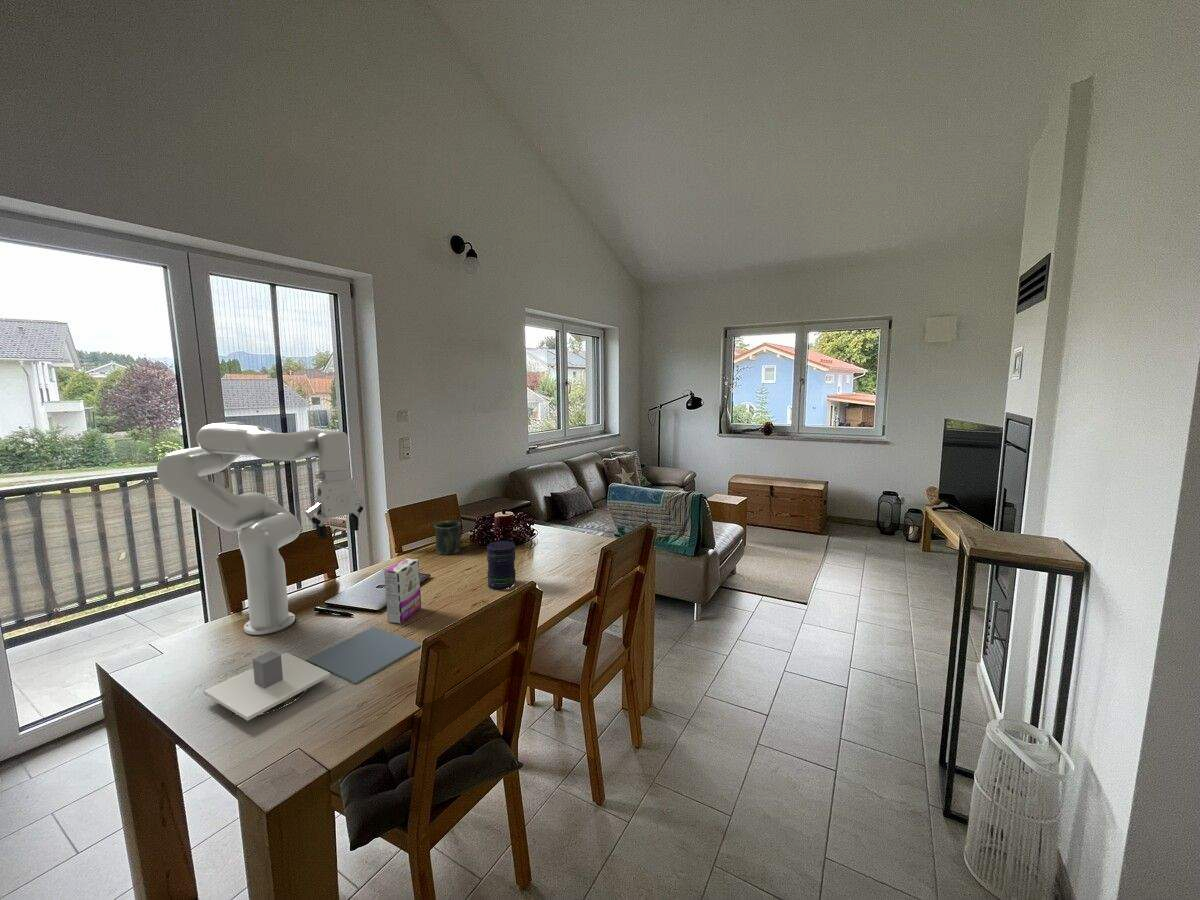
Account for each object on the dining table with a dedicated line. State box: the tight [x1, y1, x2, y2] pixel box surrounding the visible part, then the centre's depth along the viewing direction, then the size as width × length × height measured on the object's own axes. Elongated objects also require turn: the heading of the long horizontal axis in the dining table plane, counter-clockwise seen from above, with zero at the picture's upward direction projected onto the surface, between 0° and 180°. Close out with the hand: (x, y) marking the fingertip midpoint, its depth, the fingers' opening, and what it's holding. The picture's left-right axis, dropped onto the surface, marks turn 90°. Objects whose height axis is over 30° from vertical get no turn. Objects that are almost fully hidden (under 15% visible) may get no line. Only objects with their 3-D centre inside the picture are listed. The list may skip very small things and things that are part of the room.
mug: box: [433, 520, 463, 556], centre depth 212 cm, size 11×15×12 cm
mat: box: [305, 626, 422, 685], centre depth 131 cm, size 20×20×1 cm
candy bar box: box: [384, 558, 422, 625], centre depth 152 cm, size 11×5×16 cm, turn 168°
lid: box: [203, 650, 332, 722], centre depth 113 cm, size 18×18×7 cm
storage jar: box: [486, 540, 516, 591], centre depth 175 cm, size 10×10×15 cm
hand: (338, 534), depth 141 cm, fingers open, 9 cm apart
